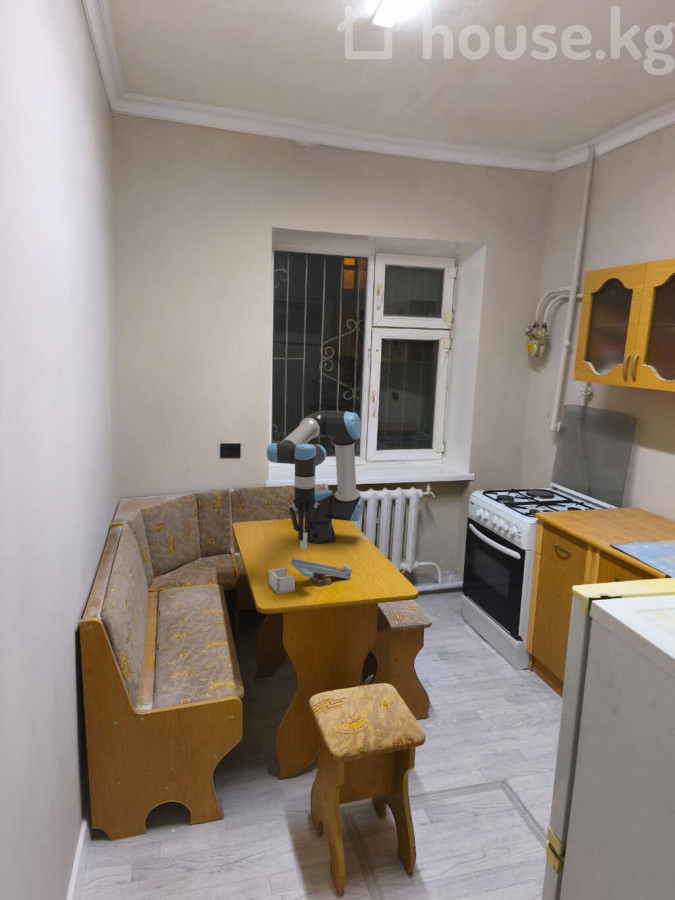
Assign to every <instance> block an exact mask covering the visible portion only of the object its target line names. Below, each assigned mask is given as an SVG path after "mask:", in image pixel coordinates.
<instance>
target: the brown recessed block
mask: <svg viewBox="0 0 675 900" xmlns="http://www.w3.org/2000/svg"><path fill="white" fill-rule="evenodd" d="M311 573H312V574H313V575H314V576H313V577H309V579H311V581H312V582H314V583H315V584H316V585H317V586H318V587H323V586H324V587H325V586H329V585H331V584H332V579H331V578H330V577H329V575H325V574H319V573H314V572H311Z"/></svg>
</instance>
